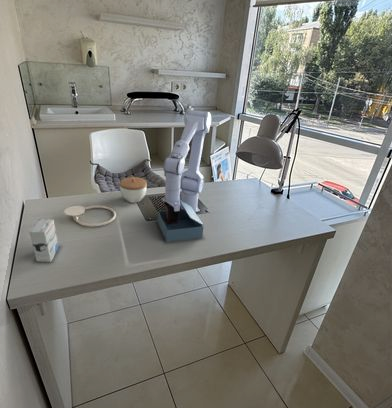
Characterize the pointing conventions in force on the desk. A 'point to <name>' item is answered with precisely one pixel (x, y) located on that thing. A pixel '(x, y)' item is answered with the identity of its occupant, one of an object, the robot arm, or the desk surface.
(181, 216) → the carton
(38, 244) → the ink box
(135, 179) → the lidded bowl
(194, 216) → the flap
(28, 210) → the desk surface
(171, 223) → the walnut block
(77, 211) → the hand towel holder
